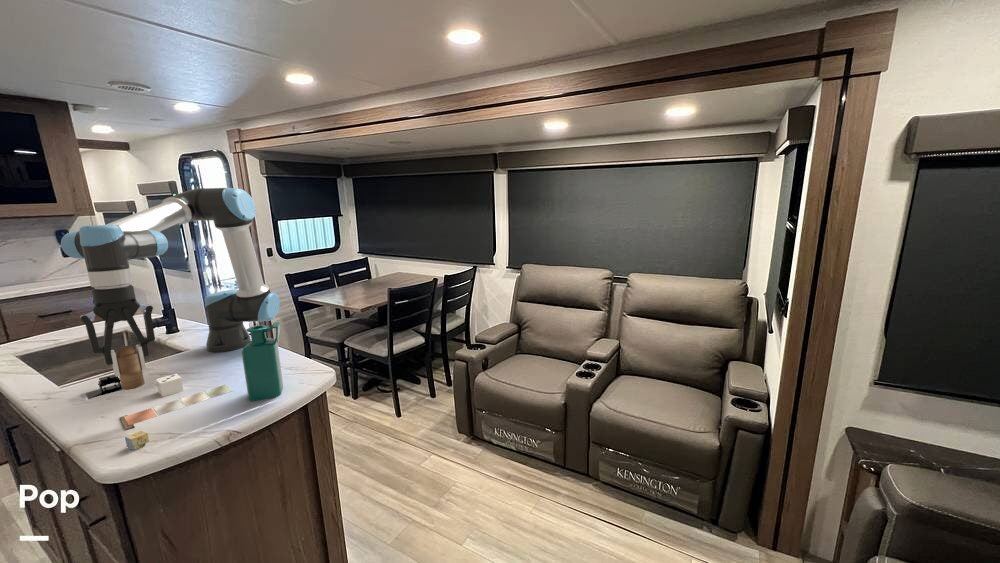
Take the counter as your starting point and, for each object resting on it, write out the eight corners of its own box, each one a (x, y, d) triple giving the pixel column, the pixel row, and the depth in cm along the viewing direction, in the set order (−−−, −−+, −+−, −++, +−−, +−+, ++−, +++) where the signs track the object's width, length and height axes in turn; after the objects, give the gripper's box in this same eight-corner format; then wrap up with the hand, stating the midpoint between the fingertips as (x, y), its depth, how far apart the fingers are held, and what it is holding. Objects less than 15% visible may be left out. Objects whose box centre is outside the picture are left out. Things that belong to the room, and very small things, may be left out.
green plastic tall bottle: (247, 404, 110) (236, 332, 106) (253, 391, 118) (243, 324, 113) (285, 397, 114) (276, 327, 109) (288, 385, 121) (280, 320, 117)
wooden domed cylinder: (142, 381, 104) (134, 342, 102) (146, 385, 101) (138, 345, 99) (120, 386, 101) (112, 346, 99) (123, 391, 98) (114, 350, 96)
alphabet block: (126, 448, 90) (124, 436, 90) (143, 440, 93) (140, 429, 93) (133, 451, 89) (131, 439, 89) (149, 443, 92) (147, 432, 91)
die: (179, 388, 121) (176, 373, 120) (183, 392, 118) (181, 377, 117) (158, 394, 117) (155, 379, 116) (163, 399, 114) (159, 383, 113)
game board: (226, 384, 122) (226, 382, 122) (237, 392, 117) (236, 390, 117) (119, 418, 103) (119, 416, 103) (126, 429, 98) (125, 427, 98)
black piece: (82, 403, 113) (79, 388, 112) (79, 395, 117) (75, 381, 116) (142, 386, 123) (139, 372, 122) (136, 380, 128) (134, 367, 127)
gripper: (154, 279, 105) (168, 358, 109) (59, 290, 91) (80, 379, 96) (160, 282, 100) (176, 364, 105) (62, 294, 87) (84, 387, 91)
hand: (130, 371), depth 100 cm, fingers closed on wooden domed cylinder, 4 cm apart
